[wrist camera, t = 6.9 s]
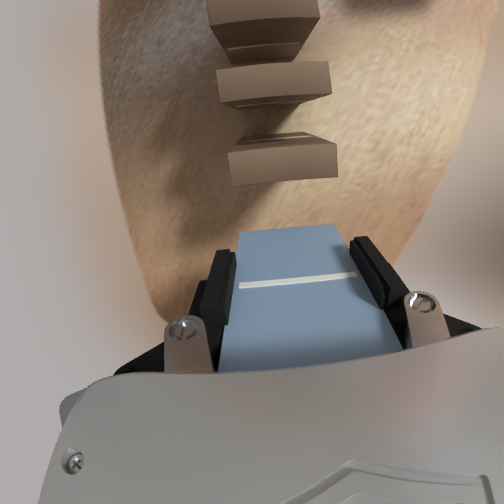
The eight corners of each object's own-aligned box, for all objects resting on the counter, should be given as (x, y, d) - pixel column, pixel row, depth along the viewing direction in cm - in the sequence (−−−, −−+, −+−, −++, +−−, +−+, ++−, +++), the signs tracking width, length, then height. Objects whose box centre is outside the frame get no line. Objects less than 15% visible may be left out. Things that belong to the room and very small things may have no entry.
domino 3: (241, 137, 21) (227, 152, 12) (303, 131, 20) (336, 142, 11) (244, 156, 21) (232, 187, 13) (305, 151, 21) (338, 178, 12)
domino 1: (229, 46, 17) (206, -1, 8) (292, 40, 16) (314, -9, 8) (231, 64, 18) (209, 26, 9) (294, 58, 17) (320, 18, 8)
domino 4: (239, 231, 14) (212, 403, 6) (333, 222, 14) (417, 377, 5) (243, 259, 15) (226, 432, 6) (333, 251, 15) (398, 410, 6)
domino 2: (235, 90, 19) (215, 69, 10) (298, 84, 18) (327, 60, 9) (238, 109, 20) (220, 103, 11) (300, 104, 19) (332, 94, 10)
